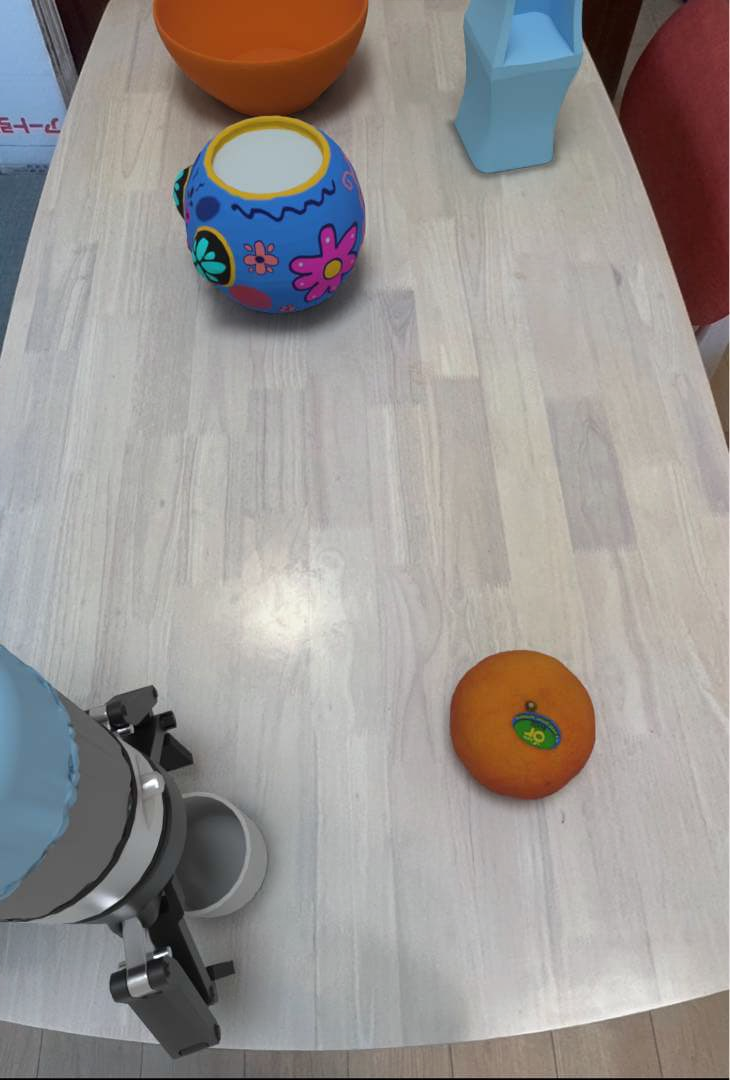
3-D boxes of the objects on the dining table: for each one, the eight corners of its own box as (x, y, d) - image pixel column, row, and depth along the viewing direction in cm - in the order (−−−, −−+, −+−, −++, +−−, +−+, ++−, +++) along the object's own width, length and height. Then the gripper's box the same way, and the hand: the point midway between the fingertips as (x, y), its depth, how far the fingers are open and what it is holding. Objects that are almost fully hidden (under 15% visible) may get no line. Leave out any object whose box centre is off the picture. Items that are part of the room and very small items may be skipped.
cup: (267, 915, 53) (249, 914, 45) (126, 921, 53) (82, 921, 45) (270, 807, 56) (252, 788, 48) (136, 813, 56) (97, 795, 48)
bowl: (387, 38, 100) (389, -48, 91) (342, 160, 89) (339, 76, 80) (209, 16, 103) (193, -70, 94) (144, 132, 92) (119, 47, 83)
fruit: (449, 662, 61) (458, 628, 54) (577, 674, 61) (604, 642, 54) (441, 798, 56) (451, 781, 49) (581, 813, 56) (611, 797, 49)
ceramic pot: (185, 245, 83) (149, 116, 70) (339, 209, 86) (332, 77, 72) (222, 363, 76) (189, 243, 62) (388, 320, 78) (391, 195, 65)
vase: (477, 175, 88) (512, -78, 66) (453, 123, 92) (478, -132, 70) (557, 161, 89) (618, -93, 66) (529, 110, 93) (578, -145, 71)
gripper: (229, 1145, 27) (293, 1055, 46) (123, 550, 38) (209, 675, 57) (17, 1225, 26) (171, 1100, 45) (-29, 592, 37) (110, 705, 56)
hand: (192, 863), depth 51 cm, fingers open, 13 cm apart
